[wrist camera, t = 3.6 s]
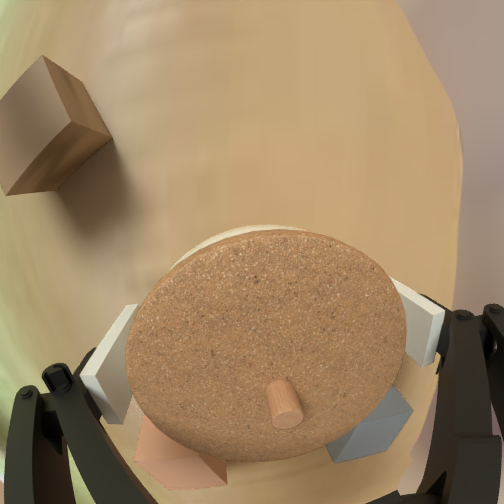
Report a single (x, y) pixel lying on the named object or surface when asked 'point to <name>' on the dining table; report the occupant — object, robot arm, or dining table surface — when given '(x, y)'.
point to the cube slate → (373, 430)
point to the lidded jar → (265, 344)
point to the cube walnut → (46, 129)
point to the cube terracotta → (176, 462)
